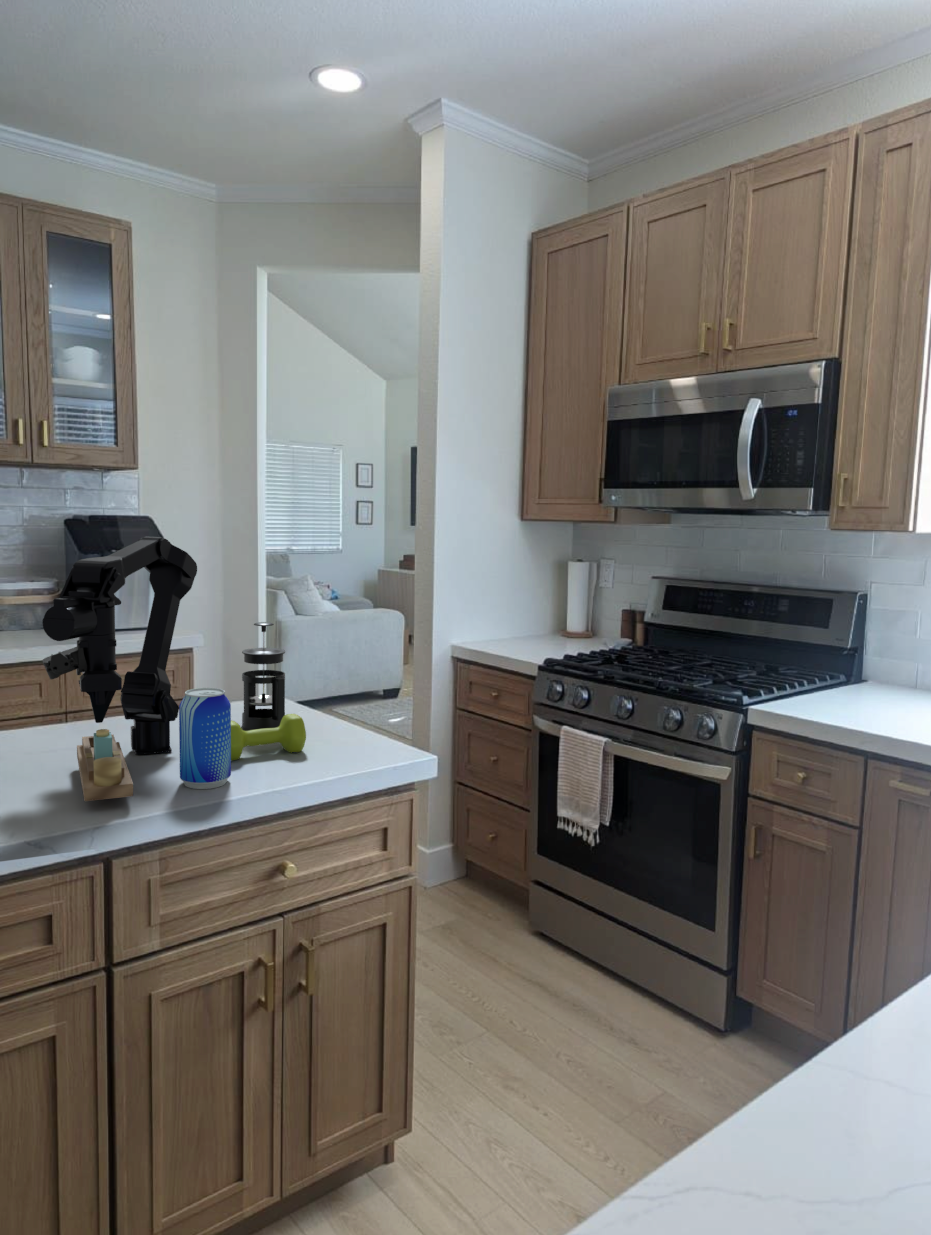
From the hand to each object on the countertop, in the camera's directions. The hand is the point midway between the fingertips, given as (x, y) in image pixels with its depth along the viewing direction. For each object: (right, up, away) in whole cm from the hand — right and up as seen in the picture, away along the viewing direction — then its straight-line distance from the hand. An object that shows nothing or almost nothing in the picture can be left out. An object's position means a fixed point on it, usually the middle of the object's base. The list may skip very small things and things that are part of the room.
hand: (98, 722), depth 151 cm
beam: (+3, -10, -5) cm, 12 cm away
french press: (+21, -6, +36) cm, 42 cm away
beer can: (+19, -10, -1) cm, 22 cm away
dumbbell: (+24, -9, +17) cm, 31 cm away
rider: (+3, -6, -6) cm, 9 cm away
